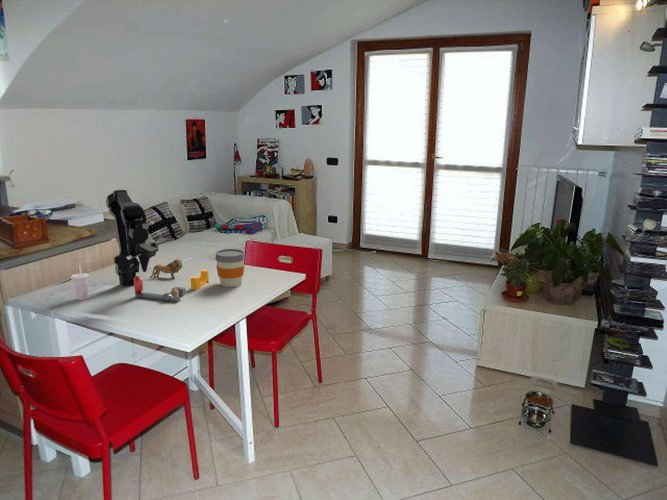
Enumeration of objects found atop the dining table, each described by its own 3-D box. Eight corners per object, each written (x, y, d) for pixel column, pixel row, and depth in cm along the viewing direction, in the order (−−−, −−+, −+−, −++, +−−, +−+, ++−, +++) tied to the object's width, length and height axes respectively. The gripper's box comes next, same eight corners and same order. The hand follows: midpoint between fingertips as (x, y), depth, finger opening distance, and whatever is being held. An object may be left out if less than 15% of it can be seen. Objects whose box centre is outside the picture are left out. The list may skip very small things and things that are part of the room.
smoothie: (95, 297, 203) (91, 263, 199) (82, 302, 197) (78, 268, 193) (82, 294, 205) (78, 262, 201) (69, 300, 199) (65, 266, 195)
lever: (133, 297, 199) (131, 278, 197) (138, 294, 203) (137, 276, 201) (176, 303, 195) (175, 283, 193) (181, 300, 198) (180, 280, 196)
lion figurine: (183, 276, 231) (182, 257, 228) (182, 279, 226) (181, 260, 223) (149, 277, 228) (148, 258, 225) (148, 281, 223) (146, 262, 220)
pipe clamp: (199, 283, 222) (198, 269, 220) (208, 283, 221) (208, 270, 220) (187, 292, 211) (186, 277, 209) (196, 293, 210) (196, 278, 208)
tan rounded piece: (168, 298, 200) (168, 290, 199) (173, 295, 203) (173, 287, 202) (176, 299, 199) (175, 291, 198) (181, 296, 202) (180, 288, 201)
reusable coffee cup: (225, 292, 211) (224, 258, 207) (211, 284, 220) (209, 251, 216) (251, 286, 219) (250, 253, 215) (236, 279, 228) (235, 247, 224)
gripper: (137, 244, 184) (140, 284, 188) (166, 233, 201) (168, 270, 205) (111, 242, 186) (115, 281, 190) (142, 231, 204) (145, 267, 208)
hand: (137, 275), depth 198 cm, fingers open, 9 cm apart
